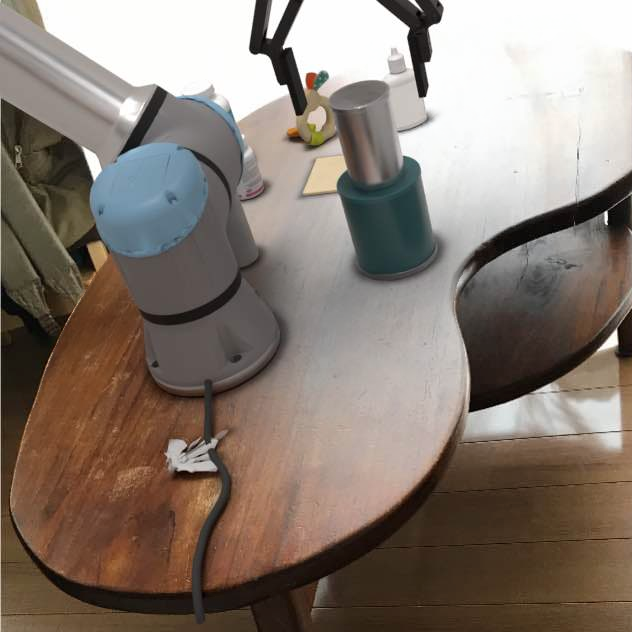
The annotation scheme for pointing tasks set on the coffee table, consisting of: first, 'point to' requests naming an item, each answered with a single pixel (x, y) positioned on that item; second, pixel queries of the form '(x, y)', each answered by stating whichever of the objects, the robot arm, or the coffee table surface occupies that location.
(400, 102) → the eye dropper bottle
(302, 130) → the rattle
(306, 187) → the mat
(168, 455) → the flower
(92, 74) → the robot arm
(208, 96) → the pill bottle
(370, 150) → the cup
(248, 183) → the pill bottle
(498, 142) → the coffee table surface
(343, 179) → the teal tin can
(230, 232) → the grey hollow tube
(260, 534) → the coffee table surface
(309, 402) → the coffee table surface
